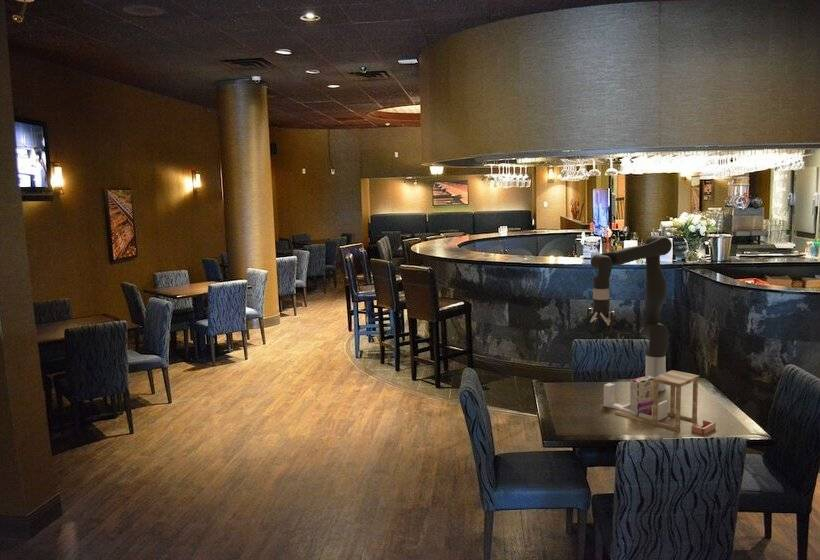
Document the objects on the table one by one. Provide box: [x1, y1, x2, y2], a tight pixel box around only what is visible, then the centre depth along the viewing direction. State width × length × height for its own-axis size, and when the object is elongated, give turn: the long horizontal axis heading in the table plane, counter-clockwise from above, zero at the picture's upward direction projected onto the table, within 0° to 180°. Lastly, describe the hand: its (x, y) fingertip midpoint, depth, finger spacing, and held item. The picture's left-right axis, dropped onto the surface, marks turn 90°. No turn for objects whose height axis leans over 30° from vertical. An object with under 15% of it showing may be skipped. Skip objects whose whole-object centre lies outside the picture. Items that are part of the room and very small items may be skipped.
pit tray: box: [691, 419, 717, 437], centre depth 277 cm, size 10×5×3 cm, turn 130°
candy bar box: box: [629, 375, 654, 417], centre depth 296 cm, size 11×5×16 cm, turn 118°
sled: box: [603, 382, 669, 421], centre depth 301 cm, size 11×27×10 cm, turn 40°
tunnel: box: [614, 369, 700, 432], centre depth 292 cm, size 16×30×20 cm, turn 40°
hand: (601, 331), depth 318 cm, fingers open, 8 cm apart
